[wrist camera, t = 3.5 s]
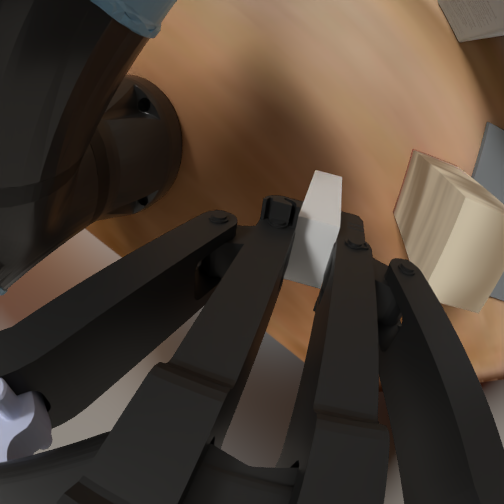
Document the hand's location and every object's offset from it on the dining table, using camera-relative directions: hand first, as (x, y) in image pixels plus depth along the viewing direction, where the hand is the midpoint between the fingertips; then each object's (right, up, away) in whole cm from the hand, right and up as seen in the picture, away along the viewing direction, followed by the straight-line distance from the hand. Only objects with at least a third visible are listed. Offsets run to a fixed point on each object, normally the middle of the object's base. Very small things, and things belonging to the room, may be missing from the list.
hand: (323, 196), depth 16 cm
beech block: (+11, +2, +6) cm, 13 cm away
